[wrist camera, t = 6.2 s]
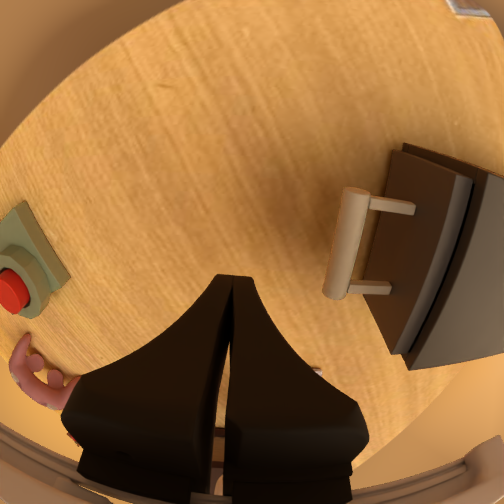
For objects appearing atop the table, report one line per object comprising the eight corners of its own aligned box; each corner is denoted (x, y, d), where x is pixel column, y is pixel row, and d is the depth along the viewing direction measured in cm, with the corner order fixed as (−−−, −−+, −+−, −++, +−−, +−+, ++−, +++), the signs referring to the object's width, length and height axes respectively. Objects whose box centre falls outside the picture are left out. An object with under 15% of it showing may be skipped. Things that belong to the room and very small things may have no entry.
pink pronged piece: (27, 332, 28) (2, 371, 23) (24, 329, 24) (-3, 373, 20) (82, 378, 31) (60, 417, 26) (87, 381, 28) (62, 424, 23)
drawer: (305, 287, 20) (322, 357, 14) (330, 137, 16) (374, 153, 9) (465, 291, 21) (503, 339, 15) (501, 183, 16) (558, 214, 10)
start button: (13, 262, 17) (1, 273, 16) (36, 297, 19) (25, 309, 17) (-1, 275, 18) (-12, 285, 16) (20, 306, 19) (10, 317, 18)
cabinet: (367, 289, 21) (408, 371, 14) (403, 142, 16) (488, 172, 8) (472, 291, 22) (518, 348, 14) (510, 179, 16) (577, 216, 9)
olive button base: (25, 200, 18) (-1, 215, 15) (75, 283, 22) (56, 307, 19) (-17, 247, 20) (-37, 262, 17) (23, 311, 24) (8, 330, 21)
